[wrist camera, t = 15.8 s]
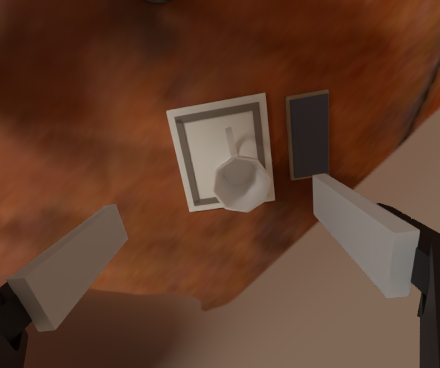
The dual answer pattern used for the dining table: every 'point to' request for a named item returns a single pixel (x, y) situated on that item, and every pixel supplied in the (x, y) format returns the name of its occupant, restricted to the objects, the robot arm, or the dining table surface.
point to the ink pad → (308, 134)
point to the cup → (240, 180)
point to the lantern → (158, 1)
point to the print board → (218, 143)
